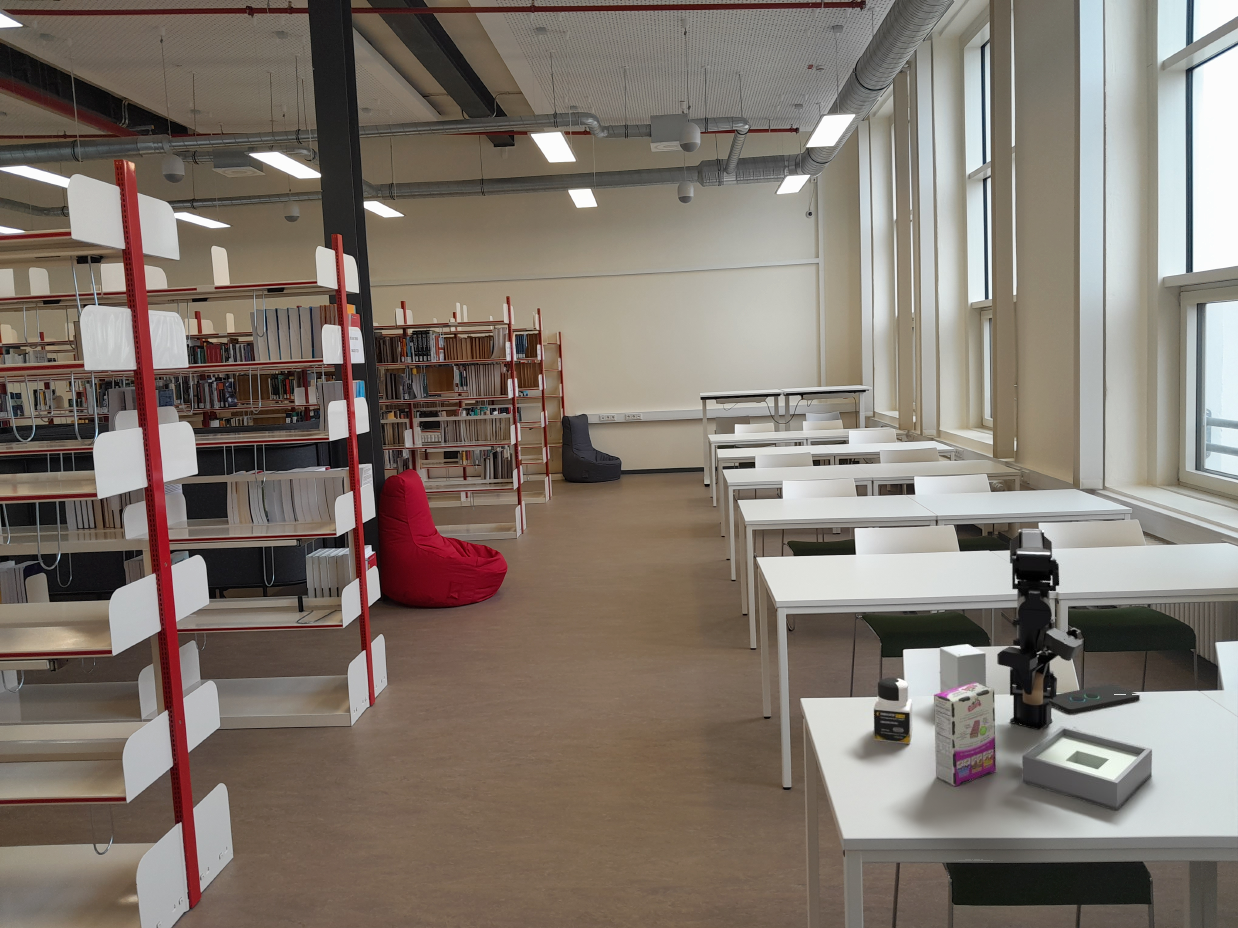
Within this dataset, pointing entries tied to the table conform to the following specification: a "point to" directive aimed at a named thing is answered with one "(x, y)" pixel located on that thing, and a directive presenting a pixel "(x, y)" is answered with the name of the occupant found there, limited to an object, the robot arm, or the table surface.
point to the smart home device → (1092, 698)
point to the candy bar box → (965, 733)
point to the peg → (1035, 691)
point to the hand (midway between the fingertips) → (1032, 691)
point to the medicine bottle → (893, 712)
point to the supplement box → (961, 666)
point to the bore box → (1087, 767)
